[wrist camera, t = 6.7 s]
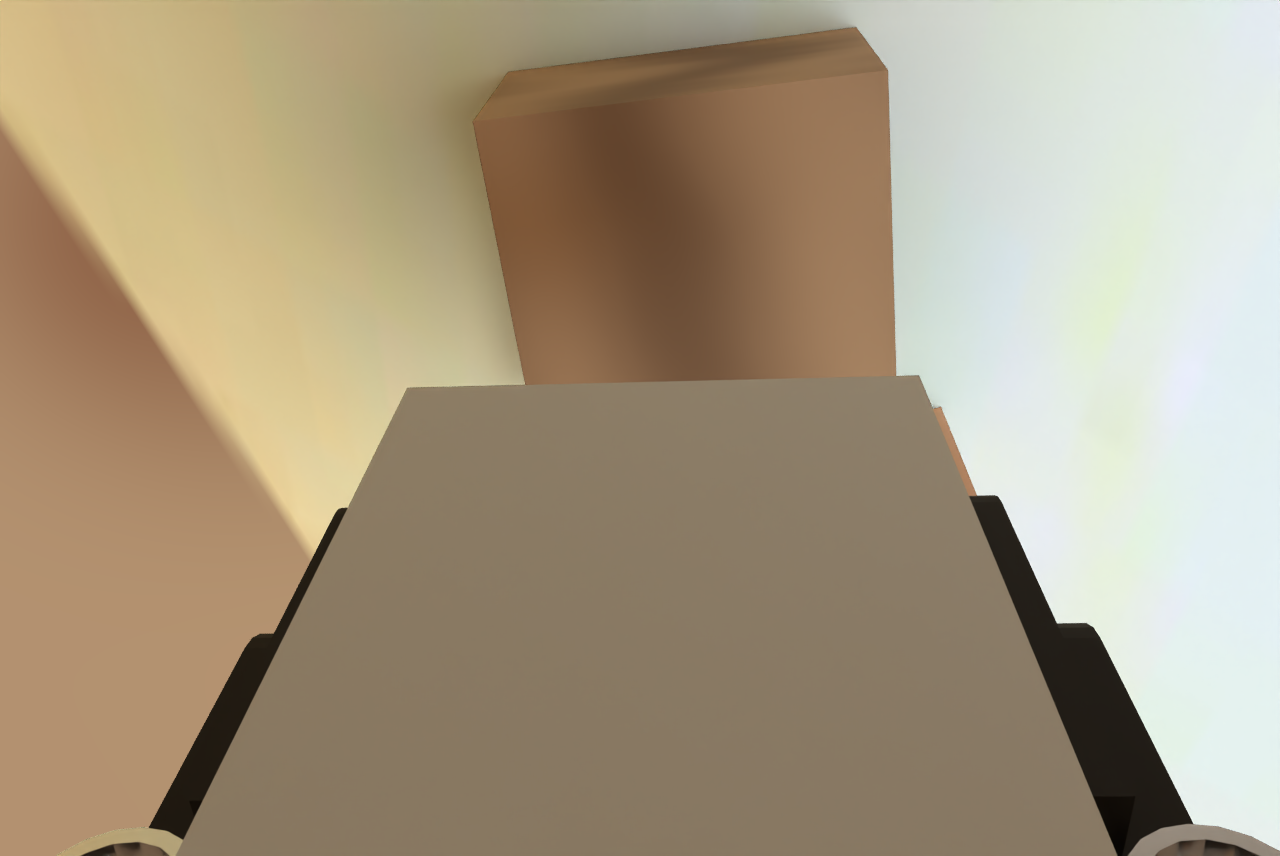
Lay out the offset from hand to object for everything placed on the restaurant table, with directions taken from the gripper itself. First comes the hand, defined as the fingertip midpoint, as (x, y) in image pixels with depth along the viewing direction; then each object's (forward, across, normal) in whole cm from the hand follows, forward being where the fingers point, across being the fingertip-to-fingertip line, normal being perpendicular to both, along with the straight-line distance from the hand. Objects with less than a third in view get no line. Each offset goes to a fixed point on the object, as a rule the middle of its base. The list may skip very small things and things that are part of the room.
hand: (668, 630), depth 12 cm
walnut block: (+18, 0, +1) cm, 18 cm away
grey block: (+1, 0, 0) cm, 1 cm away
